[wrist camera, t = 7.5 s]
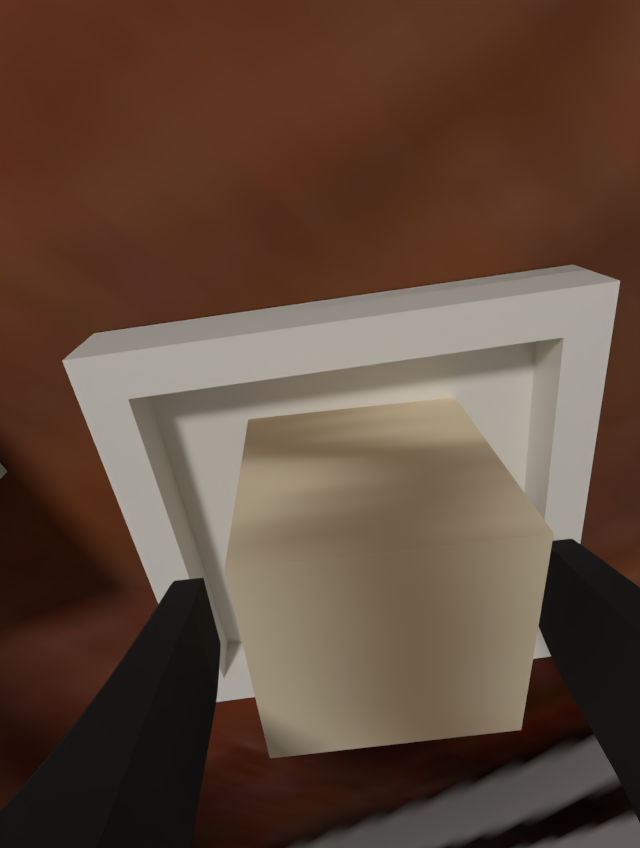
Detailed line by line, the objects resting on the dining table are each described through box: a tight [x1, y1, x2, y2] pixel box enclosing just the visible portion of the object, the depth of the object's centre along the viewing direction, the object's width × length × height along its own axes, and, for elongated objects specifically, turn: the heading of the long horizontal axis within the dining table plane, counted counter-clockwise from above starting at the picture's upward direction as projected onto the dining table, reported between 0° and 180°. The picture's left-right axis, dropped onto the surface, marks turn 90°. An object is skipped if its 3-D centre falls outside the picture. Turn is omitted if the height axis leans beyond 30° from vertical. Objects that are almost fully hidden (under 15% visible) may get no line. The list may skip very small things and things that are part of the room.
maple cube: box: [224, 397, 554, 758], centre depth 11 cm, size 5×5×5 cm
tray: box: [62, 265, 620, 702], centre depth 13 cm, size 11×11×2 cm
